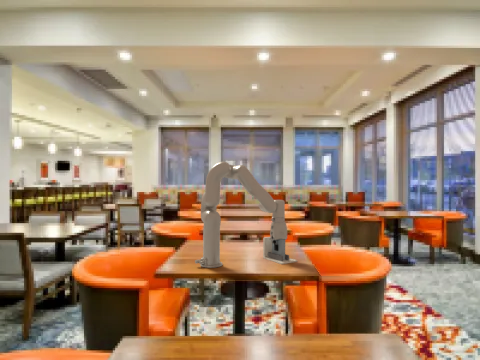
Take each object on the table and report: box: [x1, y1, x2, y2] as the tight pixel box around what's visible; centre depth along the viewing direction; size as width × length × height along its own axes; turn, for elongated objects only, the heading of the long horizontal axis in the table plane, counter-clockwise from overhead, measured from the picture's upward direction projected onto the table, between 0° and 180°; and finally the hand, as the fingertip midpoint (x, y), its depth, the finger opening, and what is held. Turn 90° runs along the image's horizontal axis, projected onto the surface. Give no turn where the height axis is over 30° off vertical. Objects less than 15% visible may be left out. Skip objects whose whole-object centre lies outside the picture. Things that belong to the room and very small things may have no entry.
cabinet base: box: [262, 236, 298, 265], centre depth 191 cm, size 12×18×13 cm, turn 32°
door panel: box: [272, 239, 286, 260], centre depth 191 cm, size 4×10×12 cm, turn 31°
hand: (278, 250), depth 191 cm, fingers open, 2 cm apart
